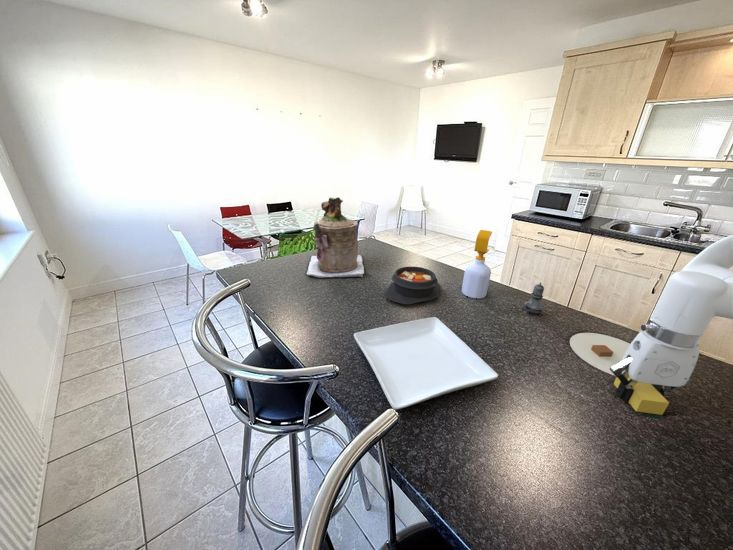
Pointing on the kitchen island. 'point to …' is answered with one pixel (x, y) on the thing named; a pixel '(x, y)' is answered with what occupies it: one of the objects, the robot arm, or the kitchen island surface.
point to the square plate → (421, 361)
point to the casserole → (413, 285)
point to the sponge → (646, 399)
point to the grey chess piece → (535, 301)
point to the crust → (602, 350)
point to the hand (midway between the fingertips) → (635, 399)
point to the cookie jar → (335, 244)
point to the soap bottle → (478, 269)
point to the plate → (583, 349)
